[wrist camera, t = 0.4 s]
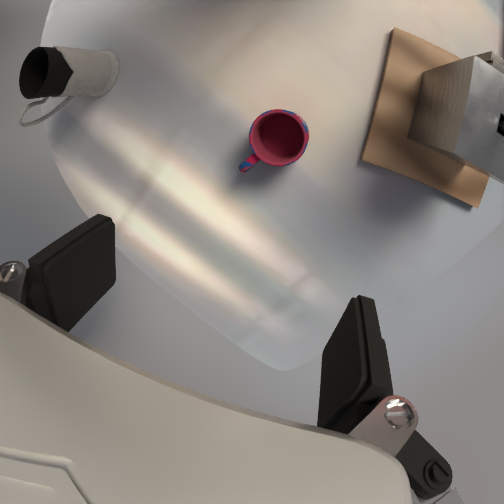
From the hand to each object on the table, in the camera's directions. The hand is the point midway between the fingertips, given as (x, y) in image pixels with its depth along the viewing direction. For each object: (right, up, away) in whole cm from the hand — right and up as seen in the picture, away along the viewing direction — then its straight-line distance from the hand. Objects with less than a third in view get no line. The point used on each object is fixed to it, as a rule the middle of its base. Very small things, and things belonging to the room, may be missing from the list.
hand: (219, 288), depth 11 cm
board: (+27, +20, +21) cm, 40 cm away
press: (+27, +21, +18) cm, 39 cm away
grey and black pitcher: (-26, +30, +28) cm, 49 cm away
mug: (+4, +17, +28) cm, 33 cm away
